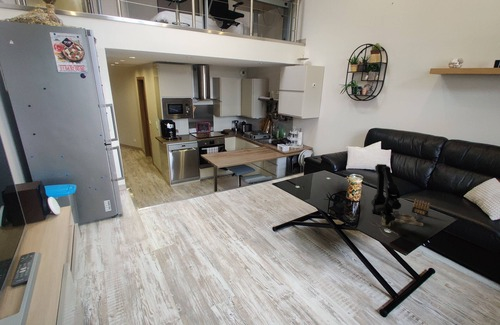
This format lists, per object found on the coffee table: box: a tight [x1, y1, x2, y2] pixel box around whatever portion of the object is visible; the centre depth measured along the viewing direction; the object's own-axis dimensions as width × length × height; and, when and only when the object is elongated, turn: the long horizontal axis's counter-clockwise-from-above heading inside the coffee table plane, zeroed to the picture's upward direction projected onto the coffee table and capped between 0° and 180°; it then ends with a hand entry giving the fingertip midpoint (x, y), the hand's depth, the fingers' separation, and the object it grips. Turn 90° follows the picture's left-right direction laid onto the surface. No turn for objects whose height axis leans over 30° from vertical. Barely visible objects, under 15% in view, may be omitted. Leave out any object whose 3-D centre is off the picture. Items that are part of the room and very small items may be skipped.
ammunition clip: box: [411, 198, 430, 218], centre depth 191 cm, size 11×2×12 cm, turn 42°
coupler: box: [381, 215, 392, 227], centre depth 176 cm, size 5×6×5 cm
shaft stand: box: [392, 210, 424, 227], centre depth 182 cm, size 18×10×6 cm, turn 70°
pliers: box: [369, 221, 399, 238], centre depth 169 cm, size 10×1×20 cm
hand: (385, 222), depth 176 cm, fingers open, 6 cm apart
